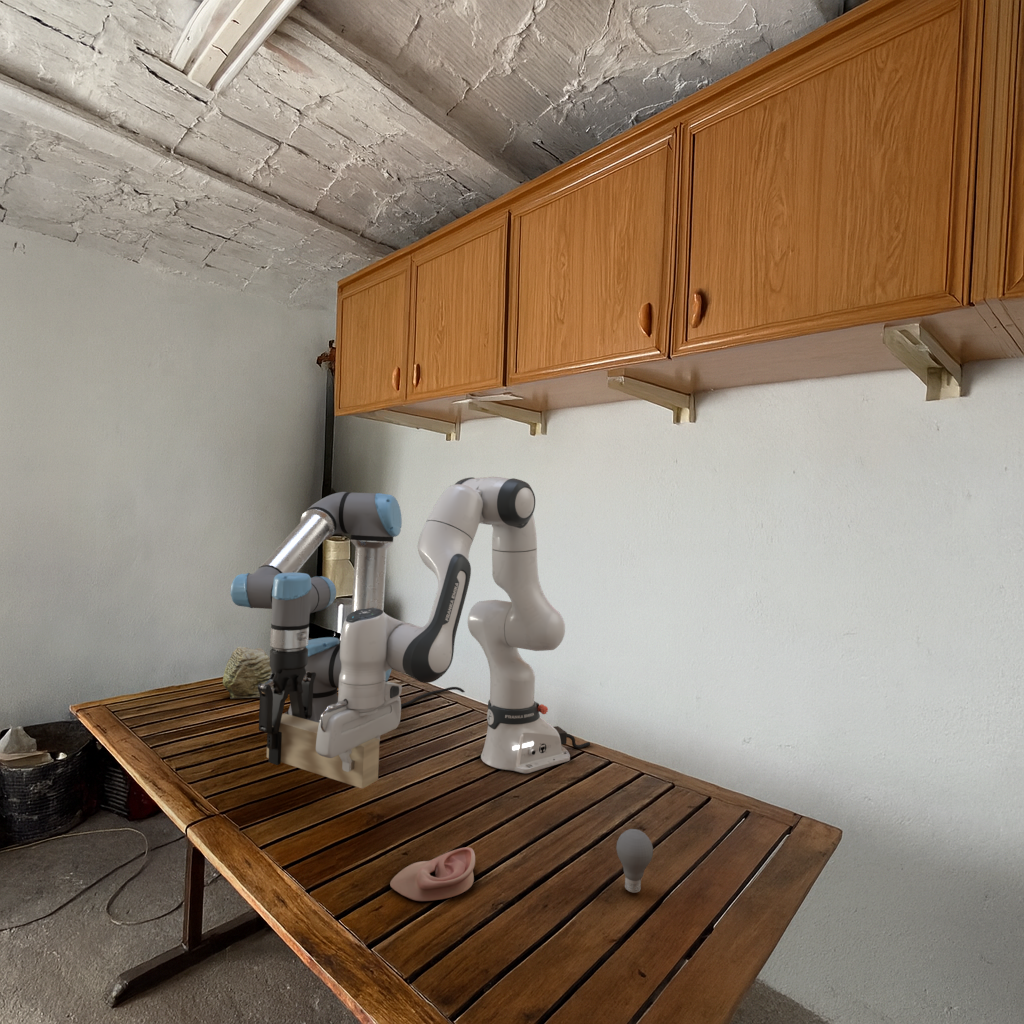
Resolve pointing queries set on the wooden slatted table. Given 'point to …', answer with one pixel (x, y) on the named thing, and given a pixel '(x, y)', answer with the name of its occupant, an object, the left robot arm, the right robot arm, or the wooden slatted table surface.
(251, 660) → the fossil
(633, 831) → the light bulb
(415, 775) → the wooden slatted table surface
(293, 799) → the wooden slatted table surface
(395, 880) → the anatomical model
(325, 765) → the ash beam
